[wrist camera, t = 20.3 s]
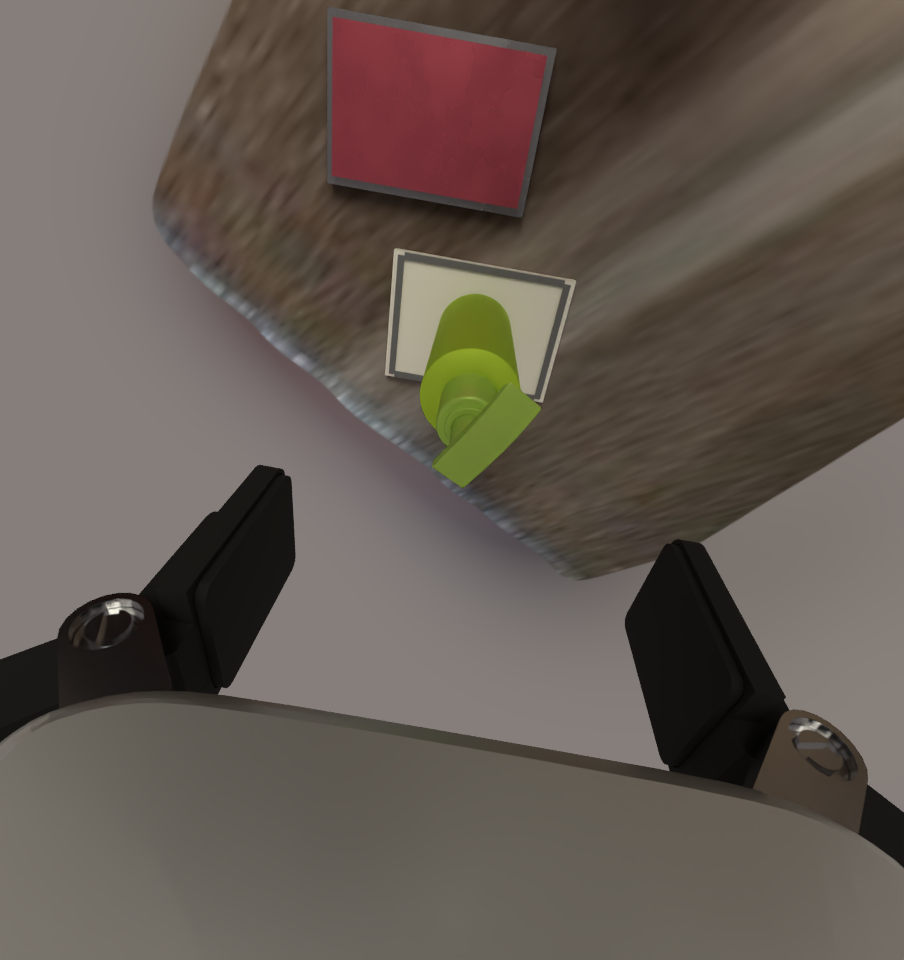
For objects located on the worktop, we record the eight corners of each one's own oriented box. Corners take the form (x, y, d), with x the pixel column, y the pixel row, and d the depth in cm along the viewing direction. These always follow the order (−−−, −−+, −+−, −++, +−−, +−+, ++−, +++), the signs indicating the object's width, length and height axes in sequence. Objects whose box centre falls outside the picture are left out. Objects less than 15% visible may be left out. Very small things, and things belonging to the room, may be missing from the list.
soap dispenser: (535, 316, 37) (576, 440, 20) (478, 380, 40) (473, 531, 23) (479, 265, 35) (473, 355, 18) (424, 336, 38) (376, 466, 21)
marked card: (396, 248, 36) (393, 249, 35) (574, 279, 36) (576, 282, 35) (386, 371, 41) (384, 375, 40) (541, 399, 41) (542, 403, 40)
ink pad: (333, 12, 29) (324, 3, 27) (554, 53, 29) (558, 46, 27) (332, 183, 34) (324, 183, 32) (521, 216, 34) (522, 218, 32)
